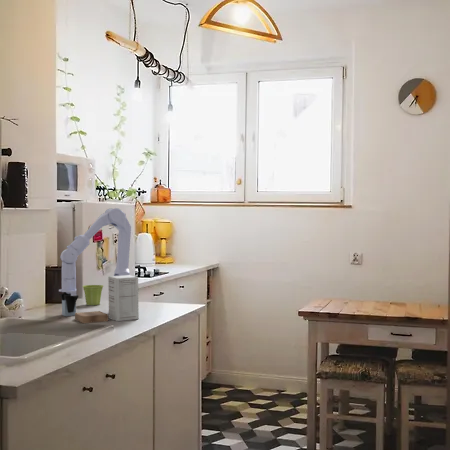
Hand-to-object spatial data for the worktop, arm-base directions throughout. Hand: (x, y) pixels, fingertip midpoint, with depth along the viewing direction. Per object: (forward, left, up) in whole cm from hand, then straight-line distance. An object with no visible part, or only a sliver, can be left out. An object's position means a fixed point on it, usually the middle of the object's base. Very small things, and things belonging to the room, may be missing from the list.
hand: (68, 311), depth 257 cm
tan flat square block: (-4, +17, -2) cm, 18 cm away
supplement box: (-16, +20, -2) cm, 26 cm away
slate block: (0, 0, -1) cm, 1 cm away
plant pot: (-18, -24, -2) cm, 30 cm away
